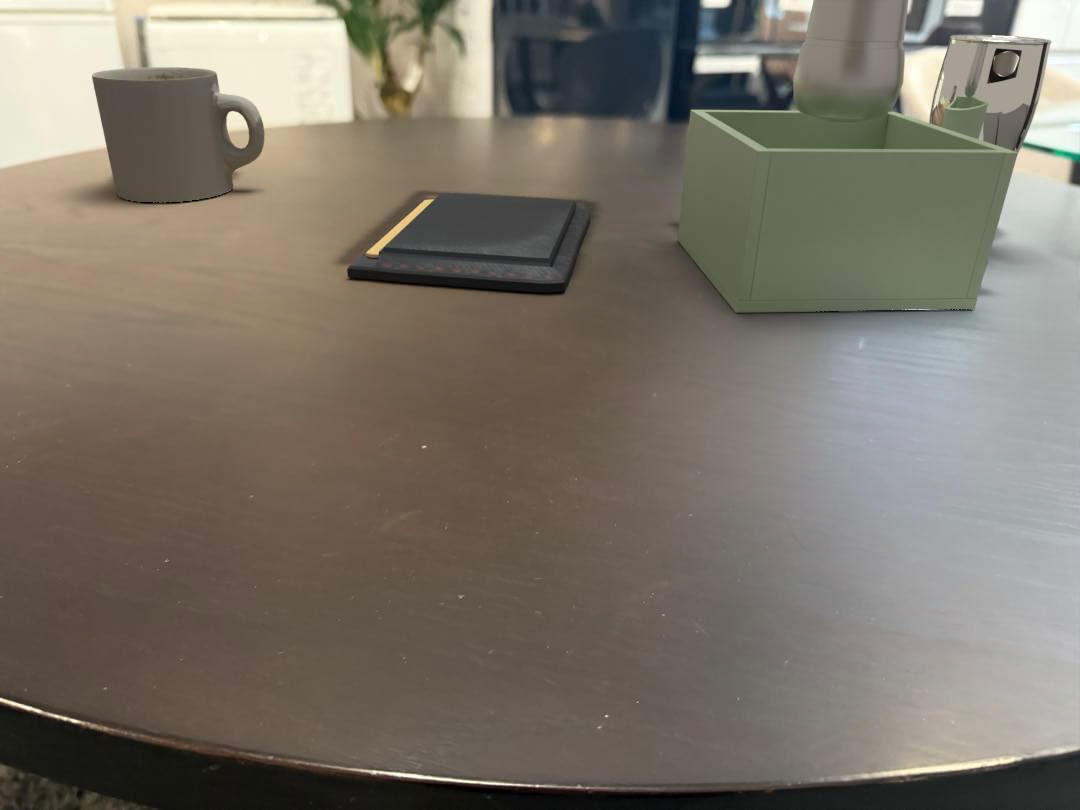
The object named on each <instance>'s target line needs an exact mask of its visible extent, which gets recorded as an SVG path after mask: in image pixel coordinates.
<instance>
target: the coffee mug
mask: <svg viewBox="0 0 1080 810" xmlns="http://www.w3.org/2000/svg"><path fill="white" fill-rule="evenodd" d="M91 79H92V84H93V89H94V94H95V98H96V104H97V108H98V113H99V117H100V122H101V127H102V132H103V136H104V141H105V142H104V143H105V145H106V150H107V156H108V159H109V161H108V162H109V164H110V169H111V174H112V175H111V176H112V179H113V184H114V188H115V193H116V196H117V195H118V196H119V197H118V196H117V197H118V198H120V197H121V198H124V199H126V200H125V201H128V200H132V201H131V202H133V201H139V202H138V203H140V202H153V203H152V204H167V203H166V202H170V203H169V204H172V203H171V202H180V203H184V202H183V201H190V202H193V201H192V200H198V199H204V198H209V199H211V198H210V197H214V196H217V197H219V196H218V195H220V194H223V193H225V192H227V191H229V190H230V189H232V187H233V188H234V182H233V181H234V180H233V174H234V172H235V171H236V170H237V169H240V168H243V167H245V166H247V165H249V164H251V163H253V162H254V161H255V160H257V159H258V158H259V157H260V156H261V154H262V152H263V148H264V145H265V126H264V122H263V119H262V116H261V113H260V111H259V109H258V107H257V106H256V105H255V104H254V103H253V102H252V101H251V100H249V99H247V98H245V97H244V96H239V95H236V94H225V93H221V92H220V85H219V79H218V73H217V71H215V70H212V69H208V68H207V69H206V68H199V67H179V66H178V67H176V66H175V67H174V66H171V67H170V66H154V67H153V66H152V67H151V66H150V67H129V68H117V69H107V70H101V71H96V72H94V73H92V74H91ZM231 112H236V113H238V114H239V115H240V116H242V117H243V119H244V121H245V122H246V126H247V128H248V142H247V145H246V146H245V147H243V148H242V147H241V148H239V147H237V146H236V145H235V144H234V143H233V142H232V140H231V138H230V135H229V131H228V125H227V124H228V123H227V121H228V114H229V113H231ZM232 190H233V189H232ZM223 195H224V194H223ZM121 198H120V199H121ZM214 198H215V197H214ZM124 199H123V200H124ZM204 200H205V199H204ZM155 202H156V203H155ZM157 202H159V203H157ZM162 202H164V203H162Z"/></svg>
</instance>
